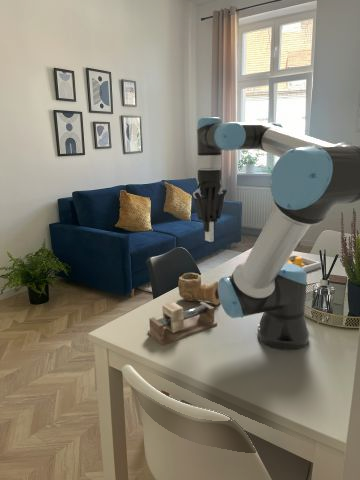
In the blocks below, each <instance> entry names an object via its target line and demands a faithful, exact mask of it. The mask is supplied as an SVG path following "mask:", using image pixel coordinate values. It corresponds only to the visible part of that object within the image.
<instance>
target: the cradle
mask: <svg viewBox="0 0 360 480" xmlns="http://www.w3.org/2000/svg"><path fill="white" fill-rule="evenodd" d="M202 305H206V307H207V312H206V313H203V314H200V315H197V316H194V317H191V318H188V319H185V320H184V329H183V330H180V331H177V332H175V333H172V332H171V331H170V330H168V329H167V328H166V327H164V325H163V324H162V323H161V322H159V321H158V319H156V318H155V317H151V318H149V329H148V330H147V333H148V334H149V336H151V337H152V338H153V339H154V340H156V341H157V342H158V343H159V344H160V345H162V346H164V345H167V344H170V343H172V342H175V341H177V340H180V339H183V338H186V337H188V336H191V335H194V334H196V333H199V332H202V331H204V330H207V329H210V328H212V327H215V326H218V322H216V321H215V307H214V306H211V305H210V304H208V303H206V301H200V302H199V306H202Z"/></svg>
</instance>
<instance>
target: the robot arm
mask: <svg viewBox="0 0 360 480" xmlns="http://www.w3.org/2000/svg"><path fill="white" fill-rule="evenodd" d="M196 127H197V128H196V133H197V134H196V137H197V139H196V140H197V141H196V142H197V145H196V146H197V168H198V170H197V181H198V185H197V189H196V190H195V191H192V192H191V197H192V198H193V201H194V206H195V210H196V215H197V219H198V220H199V221H201V222H203V232H204V241H207V242H209V243H212V242H214V238H215V237H214V233H215V232H214V231H216V223H217V222H218V219H221V215H222V210H223V206H224V202H225V201H224V200H225V196H226V194H227V192H228V191H227V189H224V188H222V184H221V181H222V170H221V169H222V151H227V152H228V151H236V150H261V151H263V152H266V153H268V154H271V155H273V156H275V157H278V160H277V161H276V162H275V164H274V166H273V168H272V171H271V175H270V176H271V177H270V180H272V182H271V183H270V193H271V195H272V201H273V204H274V207H273V210H272V211H271V213H270V215H269V217H268V219H267V221H266V223H265V224H264V226H263V228H262V229H261V232H260V234H259V235H258V238H257V239H256V242H255V243H254V244H253V247H252V248H251V250H250V252H249V254H248V256H247V257H246V259H245V261H243V262H241V263H239V264H238V265H237V266H236V267H235V268H234V270H233V271H232V273H231V275H230V276H227V275H225V276H224V277H221V278H219V281H217V282H218V294H219V299H220V305H221V307H222V309H223V310H224V312H225V314H226V315H227V316H229V317H230V318H231V319H237V318H241V319H242V318H244V317H248V316H252V315H257V314H262V316H261V318H260V320H259V323H258V325H257V337H258V339H259V340H260V341H261V342H262V343H263V344H265V345H267V346H269V347H271V348H274V349H279V350H297V349H301V348H303V347H304V348H305V346H306V345H308V343H309V339H310V332H309V329H308V326H307V323H306V318H305V307H306V295H307V286H308V277H307V276H308V275H307V274H308V272H306V271H305V270H304V269H303V268H302V267H300V266H298V265H295V264H291V263H286V261H287V260H288V258H289V257H290V255H293V252H294V250H295V249H296V248H297V247H298V245H299V243H300V242H301V241H302V239H303V237H304V236H305V234H306V233H307V231H308V230H309V228H310V227H311V226H315V225H319V224H320V223H322V222H323V220H325V219H326V217H327V216H328V215H329V212H331V210H332V209H333V208H334V206H336V205H337V206H338V205H346V204H355V203H358V202H360V145H357V144H354V143H349V142H346V141H345V142H344V141H343V142H339V143H333V142H328V141H326V140H322V139H319V138H317V137H314V136H309V135H306V134H303V133H301V132H297V131H293V130H290V129H287V128H284V127H283V126H282V124H280V123H278V122H270V121H268V122H237V121H225V122H223V121H222V119H221V117H218V116H217V117H210V116H209V117H201V118H199V119H198V120H197V126H196Z"/></svg>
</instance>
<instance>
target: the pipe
mask: <svg viewBox="0 0 360 480" xmlns="http://www.w3.org/2000/svg"><path fill="white" fill-rule="evenodd" d="M218 282H219V281H215V282H213V283H212V284H210V285H206V284H202V276H201V275H200V274H199V273H195V272H186V273H184V274H182V275H181V276H179V277H178V283H177V287H178V294H179V297H181V298H182V299H183V300H185V301H188V302H197V301H200V302H209V303H211V304H213V305H215V306H217V305H219V304H221V302H220V299H219V294H218Z"/></svg>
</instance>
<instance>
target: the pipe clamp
mask: <svg viewBox="0 0 360 480" xmlns="http://www.w3.org/2000/svg"><path fill="white" fill-rule="evenodd" d="M301 257H302V256H301ZM301 257H296V258H295V259H294V260H293V261H290V260H289V258H288V260H287V261H286V263H291V264H295V265H298V266H300V267H304V266H306V264H305V263H302V258H301Z"/></svg>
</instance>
